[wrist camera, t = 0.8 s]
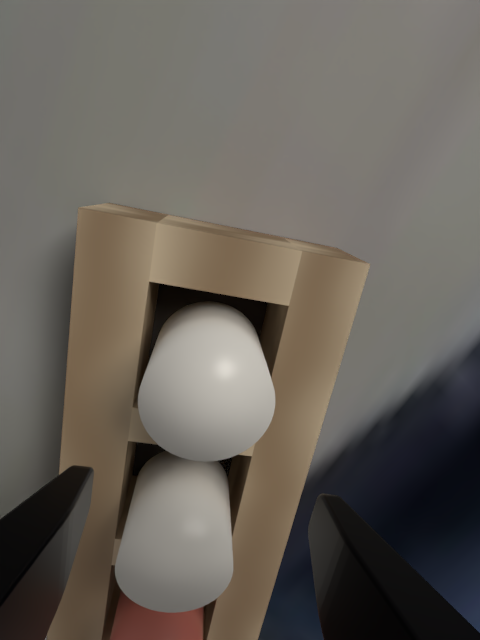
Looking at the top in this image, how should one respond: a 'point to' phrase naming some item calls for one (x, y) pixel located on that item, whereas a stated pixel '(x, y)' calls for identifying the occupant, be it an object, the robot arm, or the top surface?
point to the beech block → (129, 368)
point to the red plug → (154, 623)
